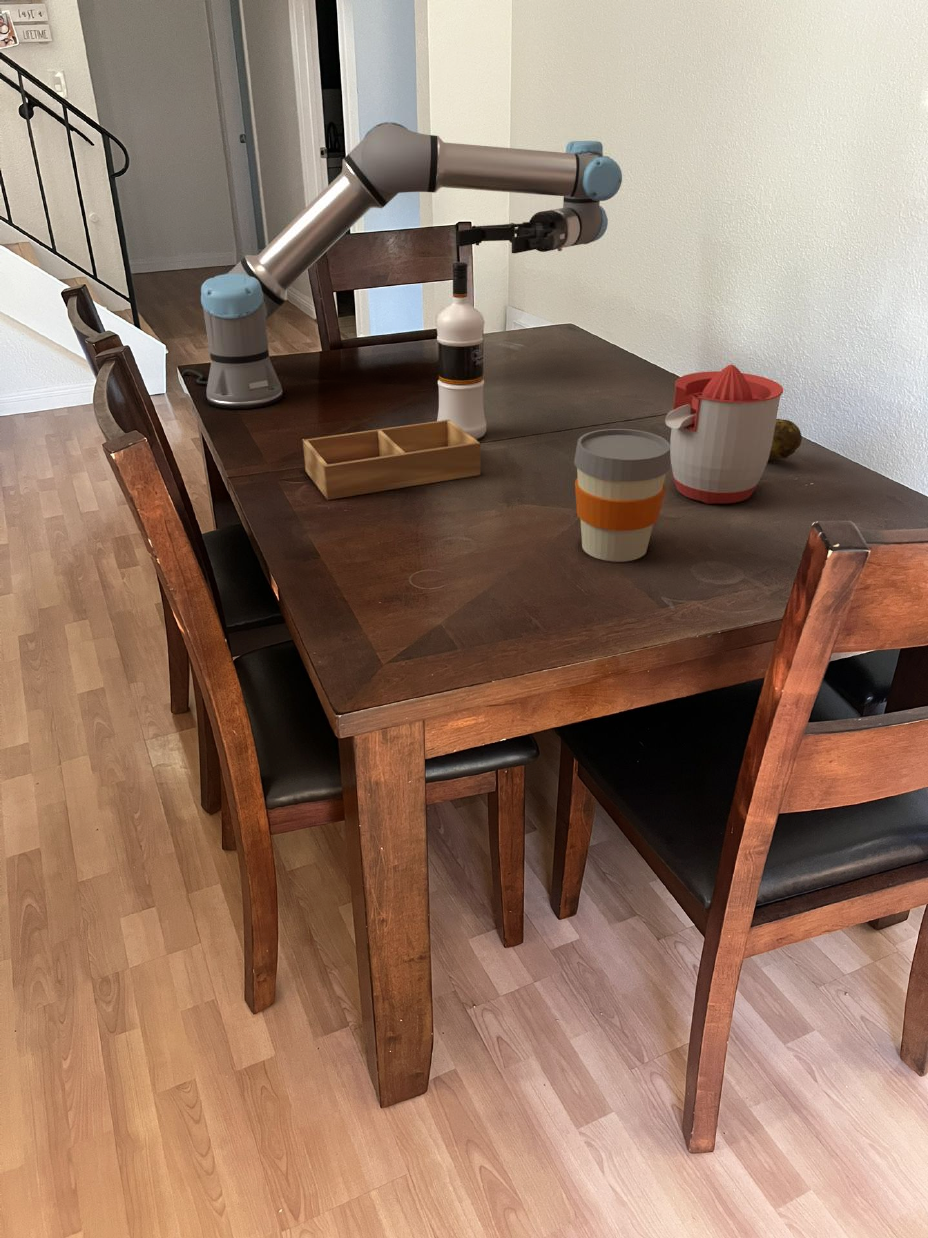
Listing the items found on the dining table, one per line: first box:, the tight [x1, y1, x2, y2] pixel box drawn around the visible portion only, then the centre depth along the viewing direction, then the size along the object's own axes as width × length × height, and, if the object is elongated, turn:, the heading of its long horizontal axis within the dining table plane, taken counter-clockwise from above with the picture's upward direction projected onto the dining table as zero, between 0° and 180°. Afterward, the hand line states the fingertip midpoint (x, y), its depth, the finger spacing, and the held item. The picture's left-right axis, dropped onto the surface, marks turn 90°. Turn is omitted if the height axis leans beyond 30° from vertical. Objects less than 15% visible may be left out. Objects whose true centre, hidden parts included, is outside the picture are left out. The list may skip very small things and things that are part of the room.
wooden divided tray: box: [302, 420, 481, 501], centre depth 148 cm, size 13×26×6 cm, turn 113°
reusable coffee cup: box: [573, 428, 671, 563], centre depth 121 cm, size 13×13×15 cm
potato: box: [768, 418, 803, 461], centre depth 152 cm, size 8×13×8 cm, turn 12°
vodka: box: [435, 261, 487, 441], centre depth 158 cm, size 9×9×30 cm
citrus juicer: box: [664, 363, 784, 505], centre depth 136 cm, size 16×17×20 cm
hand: (484, 241), depth 169 cm, fingers open, 13 cm apart
